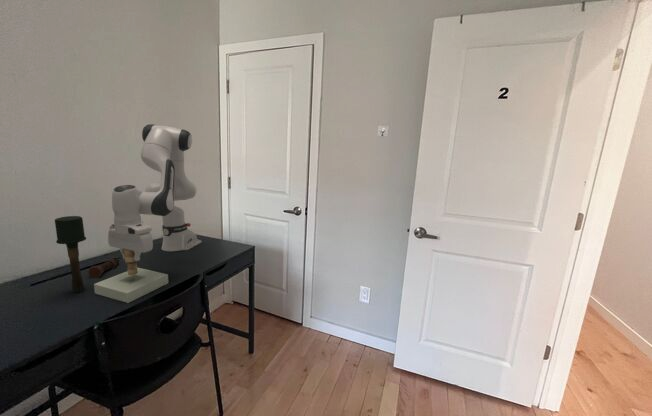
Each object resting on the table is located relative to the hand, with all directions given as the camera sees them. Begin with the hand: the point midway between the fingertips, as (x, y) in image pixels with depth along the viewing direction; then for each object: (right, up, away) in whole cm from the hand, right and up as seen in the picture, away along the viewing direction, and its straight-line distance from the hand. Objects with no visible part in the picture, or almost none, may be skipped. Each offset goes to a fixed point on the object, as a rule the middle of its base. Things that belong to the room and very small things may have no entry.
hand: (131, 259), depth 114 cm
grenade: (-20, -13, -1) cm, 24 cm away
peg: (0, -6, +1) cm, 6 cm away
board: (-1, -12, +3) cm, 13 cm away
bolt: (-24, -9, +17) cm, 31 cm away
